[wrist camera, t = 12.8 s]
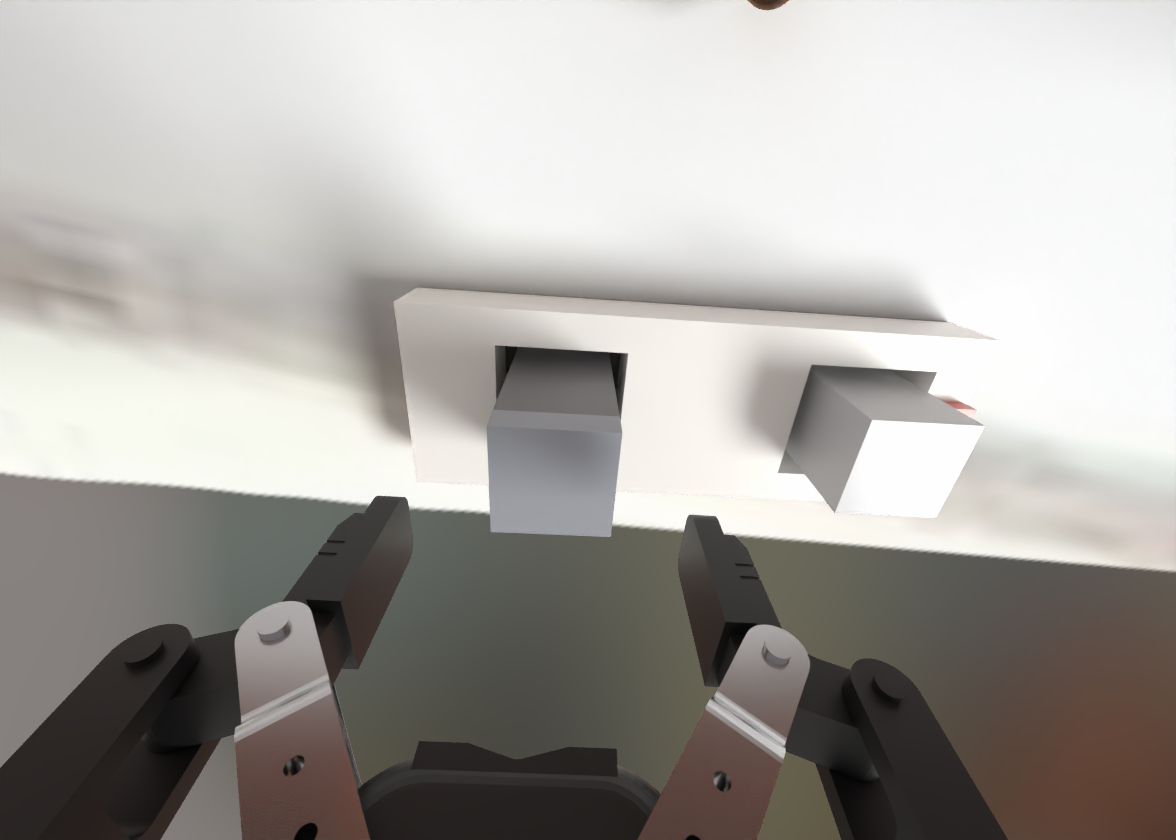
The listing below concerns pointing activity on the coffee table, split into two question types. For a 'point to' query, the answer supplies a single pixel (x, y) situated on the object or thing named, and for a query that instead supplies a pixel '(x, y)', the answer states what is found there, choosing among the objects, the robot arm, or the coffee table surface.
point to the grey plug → (878, 442)
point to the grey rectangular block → (554, 444)
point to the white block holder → (662, 380)
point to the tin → (767, 4)
